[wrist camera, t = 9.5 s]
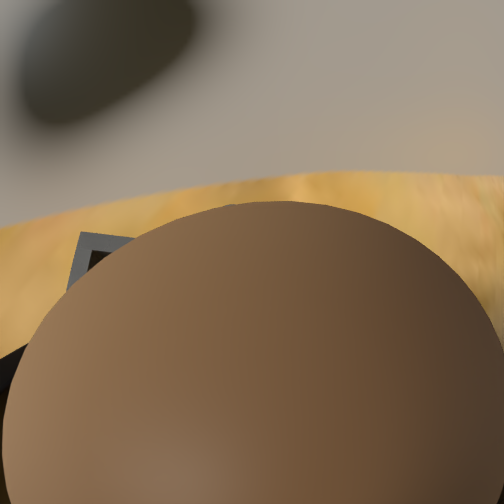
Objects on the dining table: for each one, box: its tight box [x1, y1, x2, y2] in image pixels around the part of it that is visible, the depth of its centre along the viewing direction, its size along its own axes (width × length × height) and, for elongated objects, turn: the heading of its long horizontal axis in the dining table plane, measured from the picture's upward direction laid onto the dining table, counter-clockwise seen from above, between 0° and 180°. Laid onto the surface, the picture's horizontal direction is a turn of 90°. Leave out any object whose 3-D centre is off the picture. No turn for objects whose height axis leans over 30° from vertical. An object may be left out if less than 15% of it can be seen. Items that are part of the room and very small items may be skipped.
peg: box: [2, 201, 504, 504], centre depth 8 cm, size 4×4×14 cm
